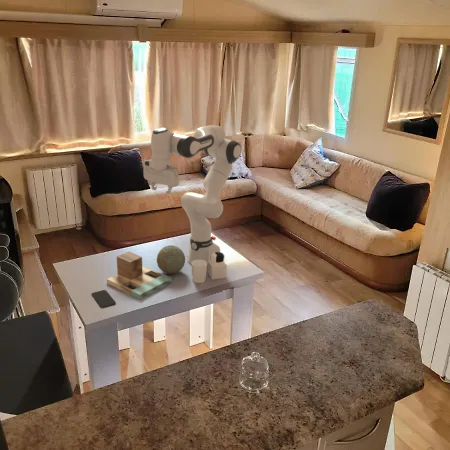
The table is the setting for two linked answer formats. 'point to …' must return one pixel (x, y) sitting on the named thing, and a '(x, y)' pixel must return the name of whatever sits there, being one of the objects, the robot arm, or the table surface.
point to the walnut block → (129, 265)
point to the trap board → (140, 283)
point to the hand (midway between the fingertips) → (161, 191)
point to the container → (217, 266)
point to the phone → (103, 298)
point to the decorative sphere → (170, 259)
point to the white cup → (199, 271)
